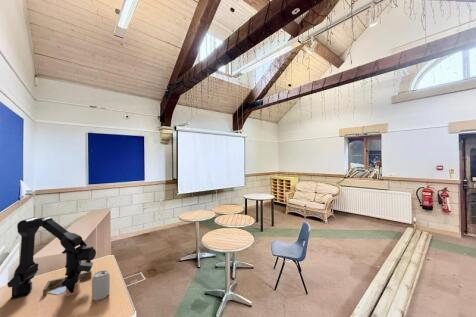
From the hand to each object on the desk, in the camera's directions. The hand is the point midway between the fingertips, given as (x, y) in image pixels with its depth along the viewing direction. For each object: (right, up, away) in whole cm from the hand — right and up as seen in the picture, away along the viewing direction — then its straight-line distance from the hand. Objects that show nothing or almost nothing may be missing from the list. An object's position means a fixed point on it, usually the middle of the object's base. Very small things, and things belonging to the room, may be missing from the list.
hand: (72, 290), depth 106 cm
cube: (0, -1, 0) cm, 1 cm away
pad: (-8, -1, +2) cm, 9 cm away
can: (+18, -1, -4) cm, 18 cm away
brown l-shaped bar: (-7, -1, +6) cm, 9 cm away
